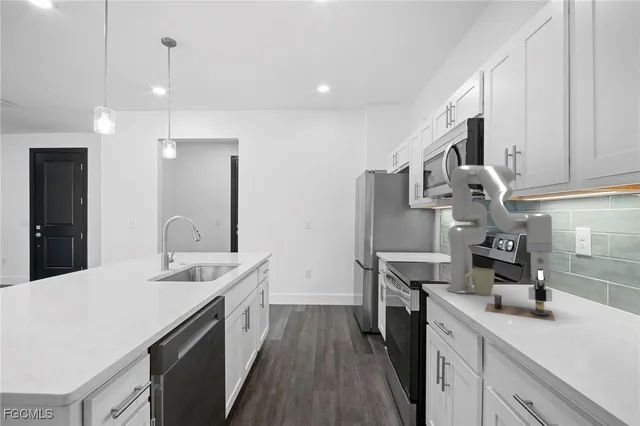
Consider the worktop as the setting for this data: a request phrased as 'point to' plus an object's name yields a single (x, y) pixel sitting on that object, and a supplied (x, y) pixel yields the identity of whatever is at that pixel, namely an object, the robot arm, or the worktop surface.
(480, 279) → the mug
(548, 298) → the white octagonal block
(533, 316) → the base board
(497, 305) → the stand rod
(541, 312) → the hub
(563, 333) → the worktop surface
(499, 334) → the worktop surface
